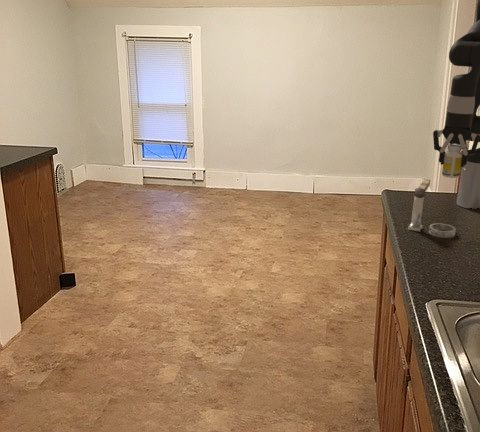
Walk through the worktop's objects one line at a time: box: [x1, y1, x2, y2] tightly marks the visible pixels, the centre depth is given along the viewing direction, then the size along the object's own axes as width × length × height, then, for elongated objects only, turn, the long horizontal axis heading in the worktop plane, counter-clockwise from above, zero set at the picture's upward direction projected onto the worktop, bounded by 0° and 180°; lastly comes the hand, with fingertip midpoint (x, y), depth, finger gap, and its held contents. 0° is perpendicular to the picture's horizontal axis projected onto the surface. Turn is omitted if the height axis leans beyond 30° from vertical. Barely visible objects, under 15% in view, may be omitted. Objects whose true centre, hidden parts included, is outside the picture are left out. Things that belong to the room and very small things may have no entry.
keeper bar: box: [413, 178, 431, 198], centre depth 188 cm, size 16×3×2 cm, turn 153°
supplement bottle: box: [441, 143, 463, 179], centre depth 175 cm, size 5×5×10 cm
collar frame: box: [407, 196, 457, 239], centre depth 182 cm, size 8×14×11 cm, turn 63°
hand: (452, 165), depth 175 cm, fingers closed on supplement bottle, 5 cm apart
